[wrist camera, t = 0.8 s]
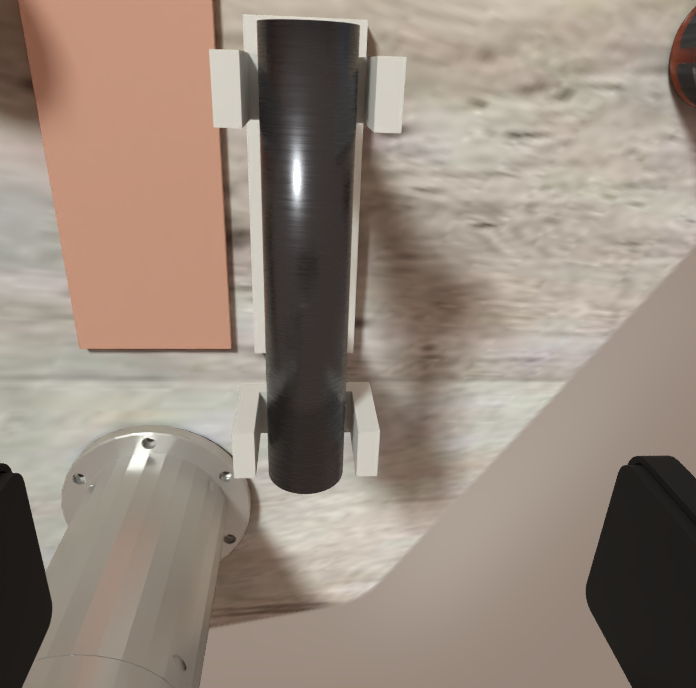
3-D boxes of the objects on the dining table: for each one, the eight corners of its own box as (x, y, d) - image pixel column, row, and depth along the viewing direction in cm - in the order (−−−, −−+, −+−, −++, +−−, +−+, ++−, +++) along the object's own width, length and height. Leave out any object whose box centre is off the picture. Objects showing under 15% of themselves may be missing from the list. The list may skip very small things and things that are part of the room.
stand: (351, 344, 37) (382, 512, 23) (256, 344, 37) (228, 515, 23) (365, 21, 30) (422, -18, 16) (244, 16, 29) (192, -30, 15)
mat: (231, 344, 37) (231, 348, 36) (82, 344, 36) (79, 348, 35) (211, -34, 28) (209, -36, 28) (15, -44, 27) (9, -46, 27)
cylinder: (340, 447, 25) (345, 493, 23) (270, 448, 25) (266, 494, 22) (355, 28, 19) (364, 22, 16) (259, 24, 18) (252, 17, 16)
